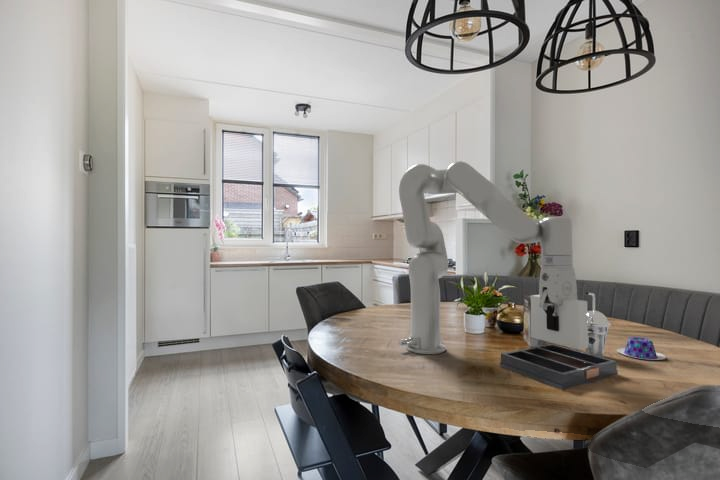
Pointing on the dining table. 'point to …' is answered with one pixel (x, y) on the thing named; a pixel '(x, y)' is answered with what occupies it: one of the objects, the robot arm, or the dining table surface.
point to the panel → (562, 323)
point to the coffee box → (527, 325)
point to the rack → (558, 365)
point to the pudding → (641, 349)
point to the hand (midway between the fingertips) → (557, 328)
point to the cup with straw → (596, 331)
